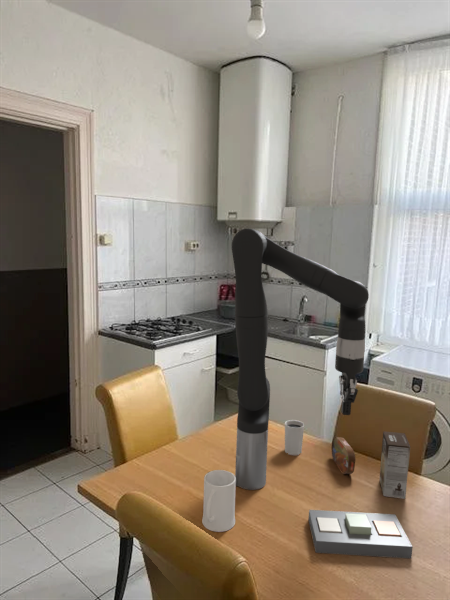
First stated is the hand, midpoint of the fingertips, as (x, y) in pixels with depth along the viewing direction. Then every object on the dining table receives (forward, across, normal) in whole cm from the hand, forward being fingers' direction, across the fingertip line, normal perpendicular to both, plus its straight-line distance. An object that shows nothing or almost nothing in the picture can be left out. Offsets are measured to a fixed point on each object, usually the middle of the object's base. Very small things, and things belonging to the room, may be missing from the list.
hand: (345, 414), depth 122 cm
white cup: (+25, -26, -11) cm, 37 cm away
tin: (+25, -17, +4) cm, 30 cm away
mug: (+25, +17, -34) cm, 46 cm away
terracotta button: (+24, +18, +7) cm, 31 cm away
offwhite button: (+25, +18, -6) cm, 31 cm away
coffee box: (+25, -5, +16) cm, 30 cm away
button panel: (+25, +18, 0) cm, 31 cm away
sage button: (+23, +18, +1) cm, 29 cm away
